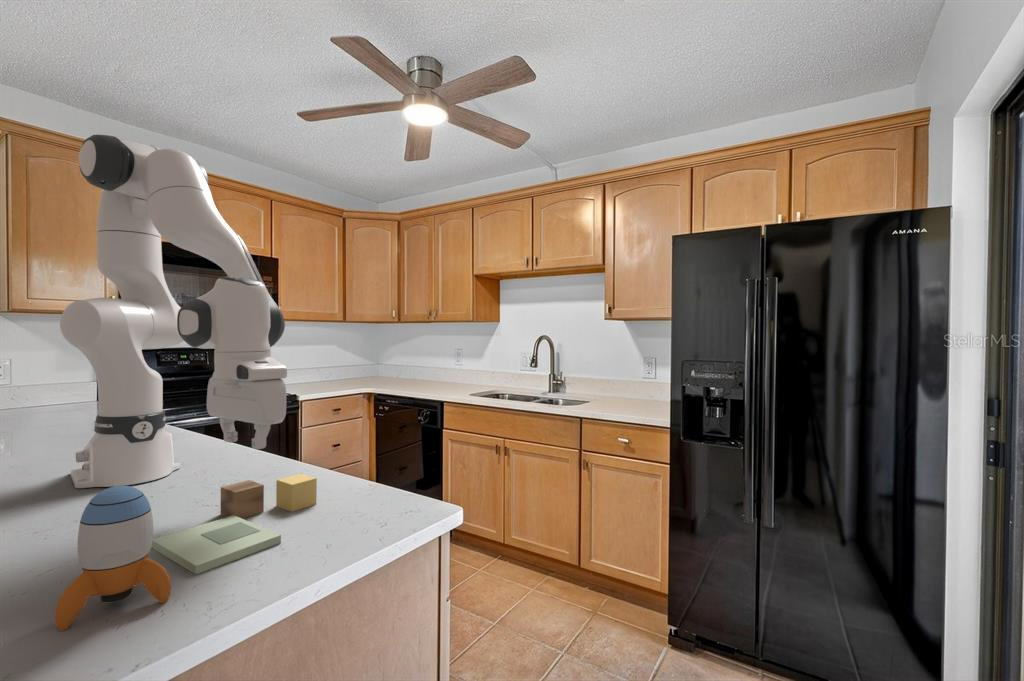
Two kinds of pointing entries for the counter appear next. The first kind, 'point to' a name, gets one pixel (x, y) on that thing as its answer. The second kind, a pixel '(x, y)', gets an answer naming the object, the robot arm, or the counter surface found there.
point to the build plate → (215, 543)
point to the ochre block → (296, 492)
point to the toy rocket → (113, 553)
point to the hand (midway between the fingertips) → (244, 445)
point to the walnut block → (242, 499)
